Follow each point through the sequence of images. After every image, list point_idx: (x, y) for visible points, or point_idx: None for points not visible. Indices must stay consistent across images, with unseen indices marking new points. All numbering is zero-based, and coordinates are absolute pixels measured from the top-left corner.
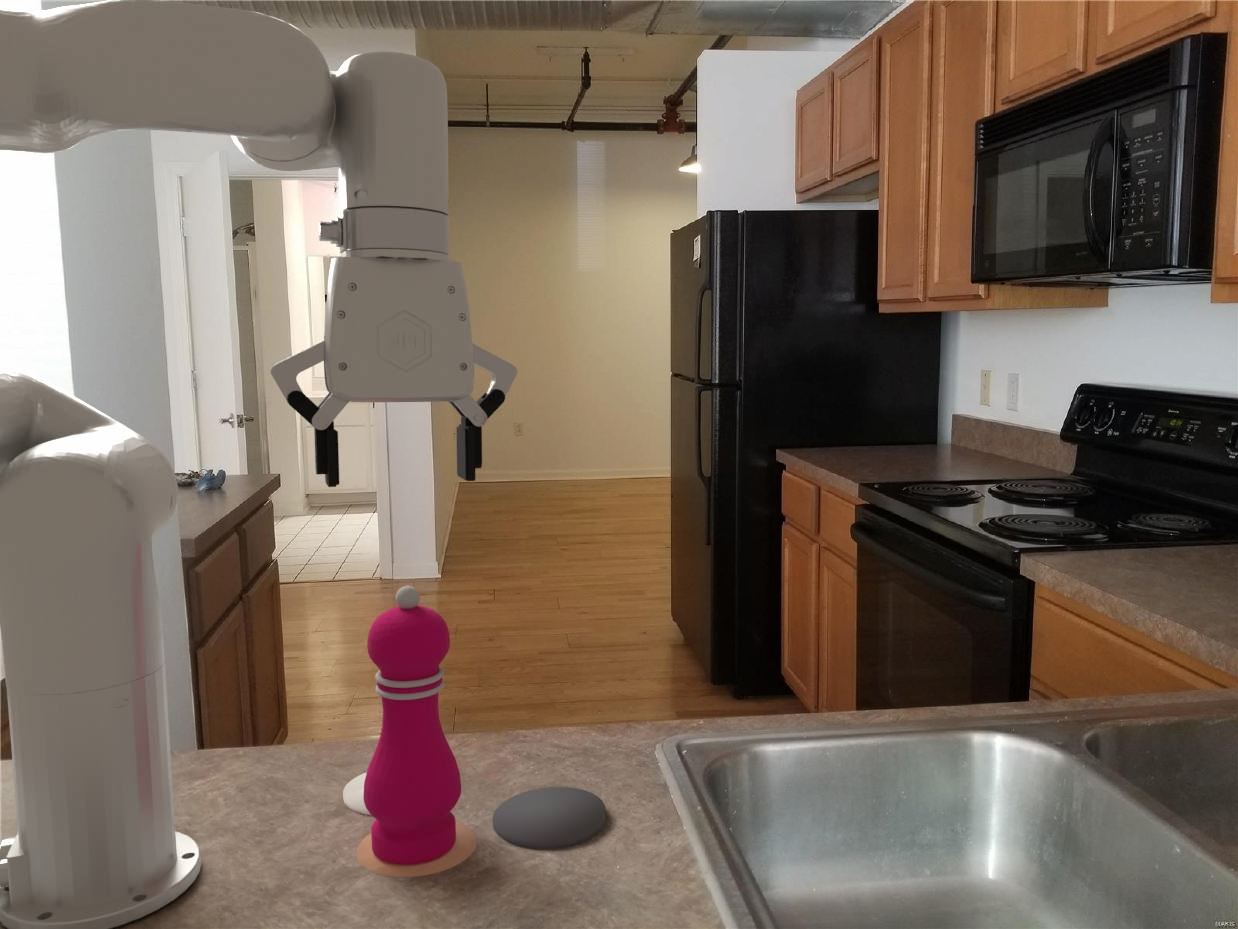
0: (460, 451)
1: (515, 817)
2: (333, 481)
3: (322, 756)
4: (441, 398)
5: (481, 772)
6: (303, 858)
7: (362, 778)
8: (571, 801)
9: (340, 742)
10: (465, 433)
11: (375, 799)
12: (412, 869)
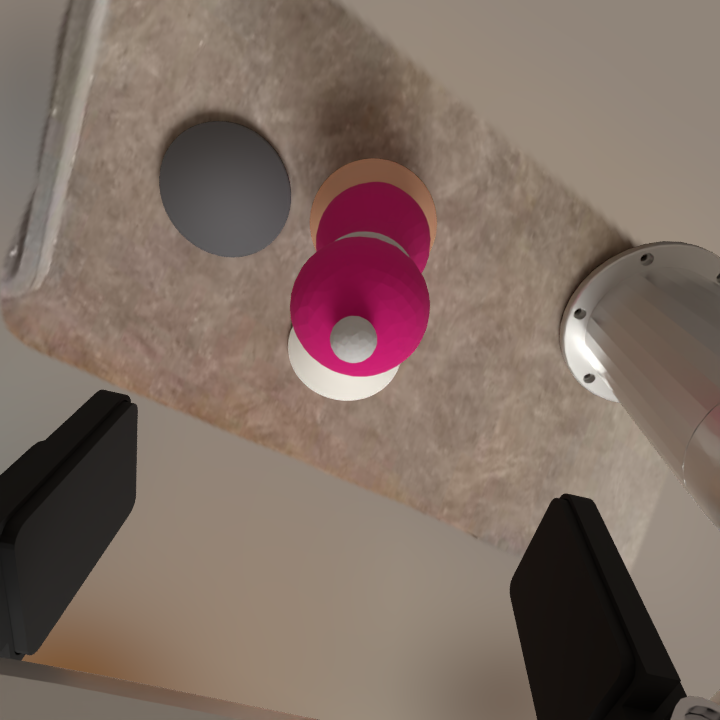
0: (87, 524)
1: (262, 208)
2: (580, 502)
3: (381, 462)
4: (38, 673)
5: (250, 339)
6: (478, 270)
7: (368, 388)
8: (192, 199)
9: (354, 481)
10: (26, 517)
11: (427, 225)
12: (397, 179)
